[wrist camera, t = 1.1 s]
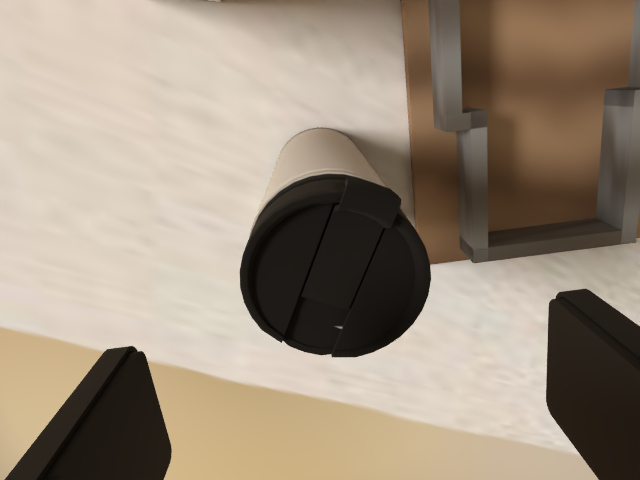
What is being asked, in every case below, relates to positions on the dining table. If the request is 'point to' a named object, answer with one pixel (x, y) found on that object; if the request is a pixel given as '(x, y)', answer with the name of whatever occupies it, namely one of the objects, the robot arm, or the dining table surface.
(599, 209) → the keyhole cradle
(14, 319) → the dining table surface
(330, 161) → the travel mug
